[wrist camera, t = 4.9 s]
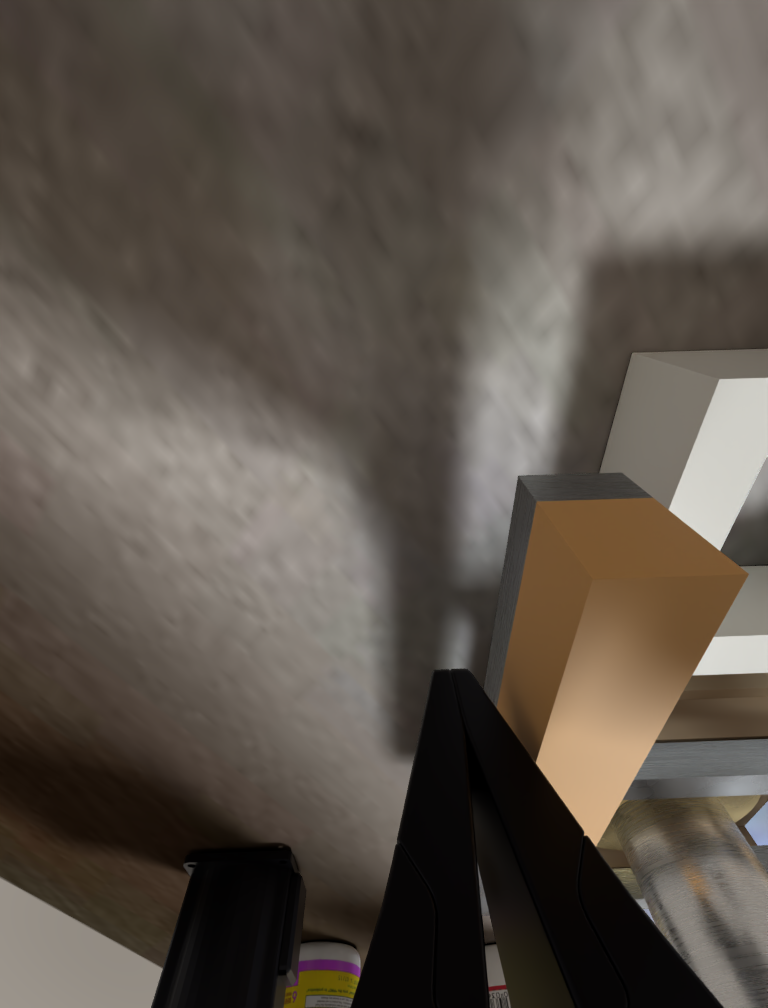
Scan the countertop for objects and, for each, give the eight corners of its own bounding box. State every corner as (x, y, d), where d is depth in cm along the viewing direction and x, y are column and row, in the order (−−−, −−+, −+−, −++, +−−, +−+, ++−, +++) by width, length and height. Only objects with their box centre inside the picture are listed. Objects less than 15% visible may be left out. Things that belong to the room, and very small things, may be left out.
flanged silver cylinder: (528, 765, 20) (666, 1197, 11) (554, 676, 17) (791, 1199, 7) (664, 760, 20) (919, 1184, 11) (718, 670, 17) (1165, 1181, 7)
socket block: (475, 792, 22) (494, 885, 18) (503, 637, 16) (539, 735, 12) (695, 783, 22) (753, 874, 18) (807, 626, 16) (923, 721, 12)
